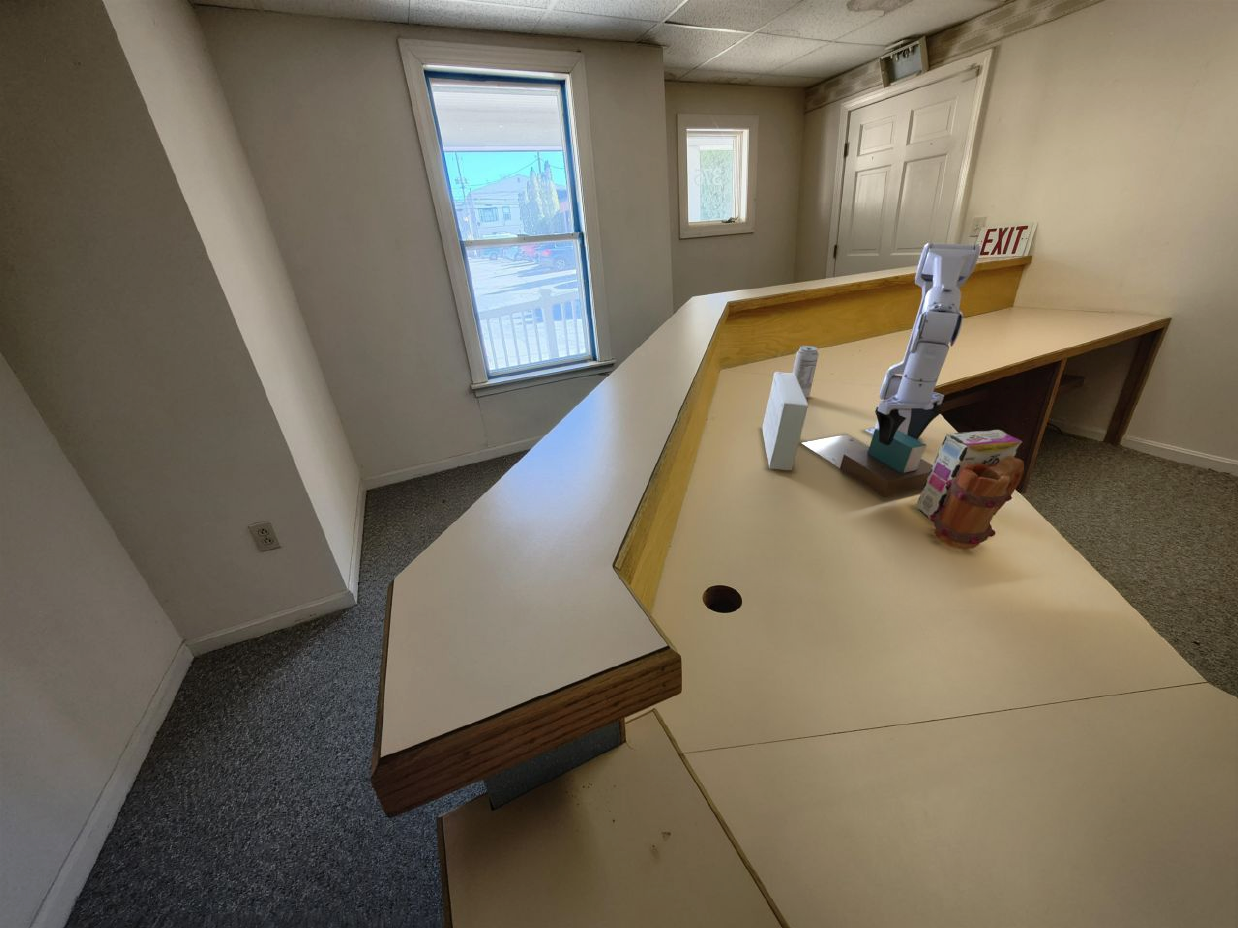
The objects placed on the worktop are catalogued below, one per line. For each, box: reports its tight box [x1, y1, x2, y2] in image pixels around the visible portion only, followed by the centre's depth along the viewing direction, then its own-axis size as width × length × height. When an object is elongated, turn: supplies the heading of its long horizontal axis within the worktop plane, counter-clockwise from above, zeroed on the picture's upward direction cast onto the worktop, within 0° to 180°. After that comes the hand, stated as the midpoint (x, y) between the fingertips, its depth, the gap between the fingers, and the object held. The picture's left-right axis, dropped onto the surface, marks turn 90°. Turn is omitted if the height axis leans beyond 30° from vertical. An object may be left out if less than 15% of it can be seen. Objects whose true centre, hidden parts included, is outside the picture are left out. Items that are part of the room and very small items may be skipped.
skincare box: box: [761, 371, 809, 471], centre depth 105 cm, size 21×6×16 cm, turn 168°
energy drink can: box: [792, 345, 820, 400], centre depth 134 cm, size 6×6×15 cm
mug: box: [930, 456, 1025, 551], centre depth 77 cm, size 15×8×15 cm, turn 114°
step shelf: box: [801, 433, 933, 498], centre depth 102 cm, size 14×25×4 cm, turn 19°
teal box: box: [868, 428, 927, 473], centre depth 94 cm, size 4×9×6 cm, turn 19°
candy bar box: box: [914, 429, 1023, 522], centre depth 83 cm, size 11×5×16 cm, turn 100°
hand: (898, 440), depth 93 cm, fingers open, 7 cm apart
